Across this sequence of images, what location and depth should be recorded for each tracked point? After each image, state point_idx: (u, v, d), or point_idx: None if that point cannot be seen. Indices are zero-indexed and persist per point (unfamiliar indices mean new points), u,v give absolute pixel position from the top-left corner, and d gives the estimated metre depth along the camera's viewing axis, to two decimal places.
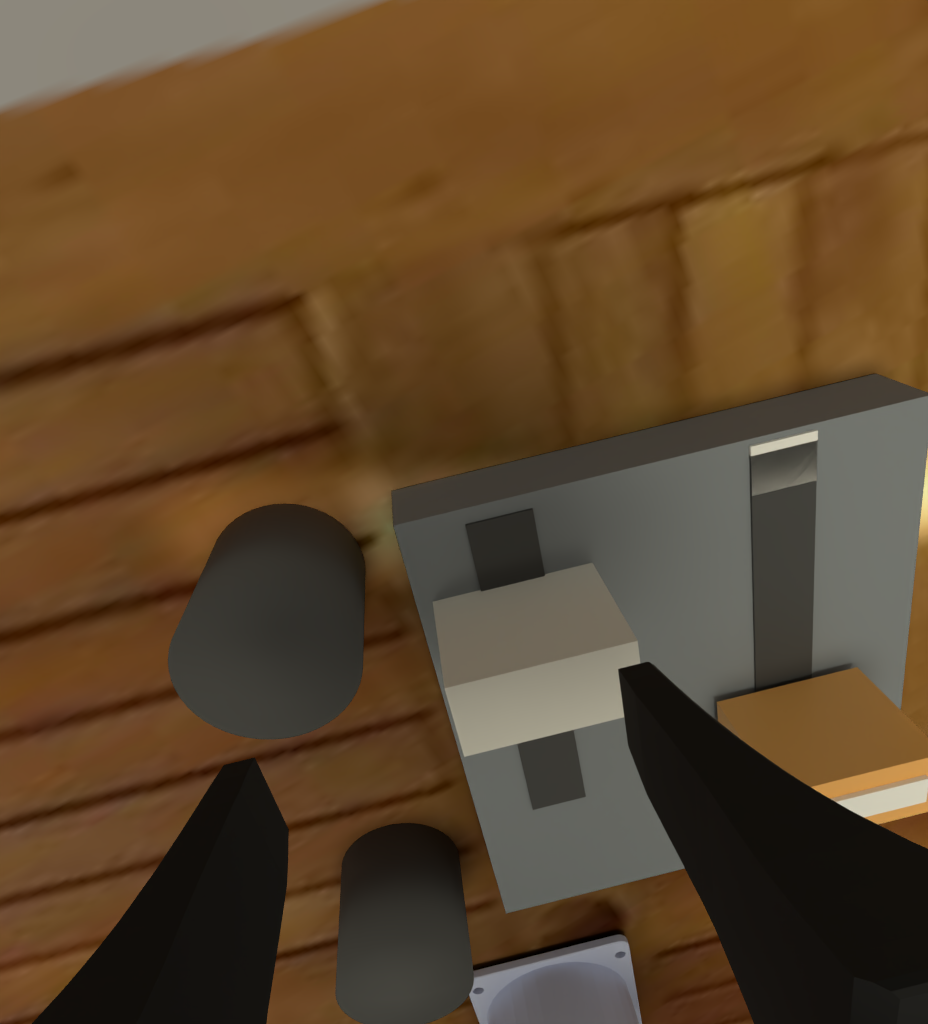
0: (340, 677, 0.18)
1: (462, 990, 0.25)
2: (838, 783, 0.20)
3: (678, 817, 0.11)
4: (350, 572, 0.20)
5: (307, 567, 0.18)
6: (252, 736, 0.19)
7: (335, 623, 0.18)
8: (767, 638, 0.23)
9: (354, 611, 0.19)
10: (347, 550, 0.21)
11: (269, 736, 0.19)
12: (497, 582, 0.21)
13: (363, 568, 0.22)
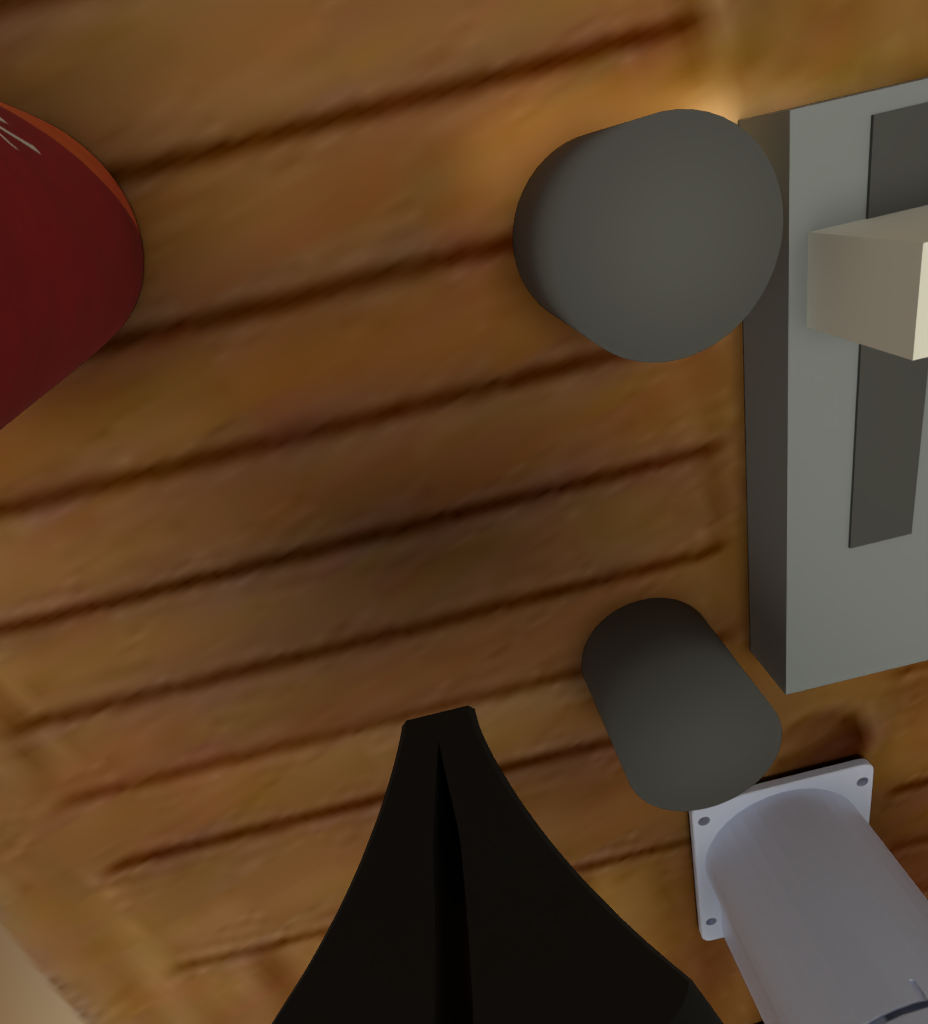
0: (748, 270, 0.15)
1: (764, 761, 0.22)
2: None
3: None
4: None
5: None
6: (624, 357, 0.15)
7: (764, 181, 0.14)
8: None
9: None
10: None
11: (645, 357, 0.15)
12: (886, 209, 0.17)
13: None
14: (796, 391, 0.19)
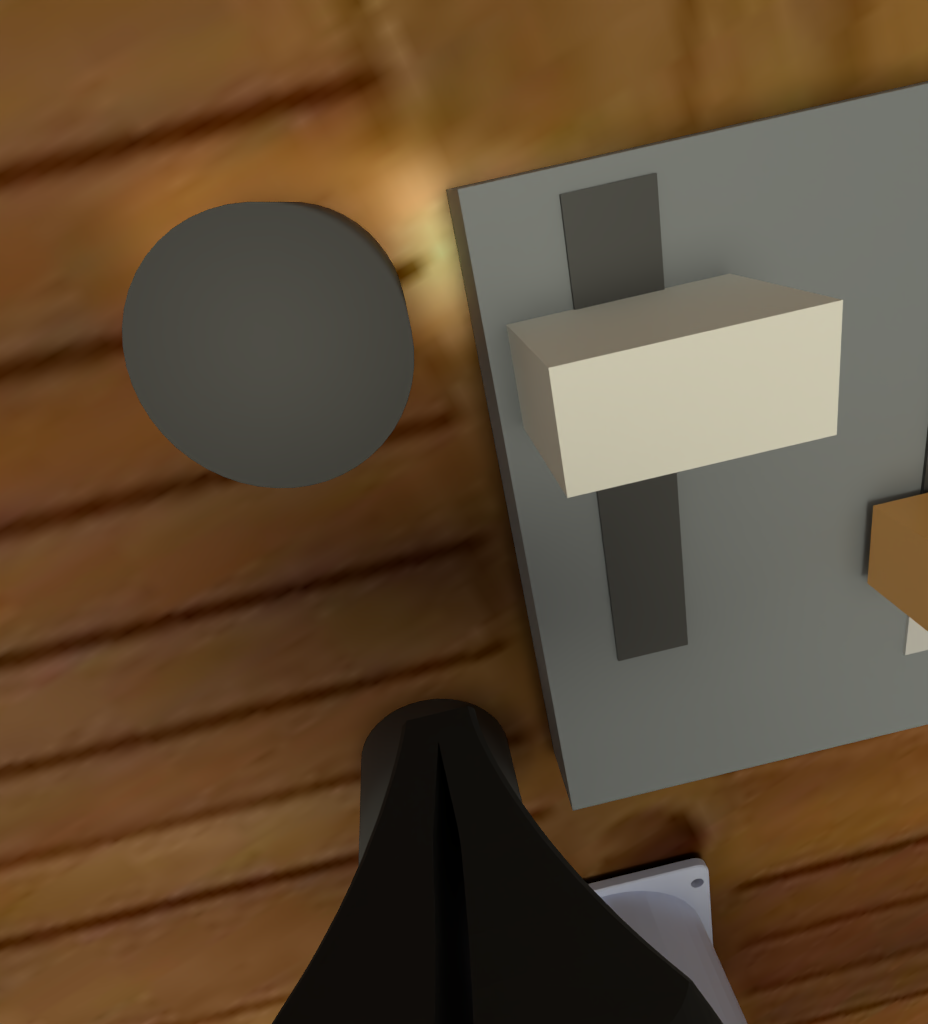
0: (379, 387, 0.12)
1: None
2: None
3: None
4: (393, 272, 0.14)
5: (337, 221, 0.12)
6: (244, 482, 0.13)
7: (378, 286, 0.12)
8: None
9: (402, 298, 0.13)
10: (387, 260, 0.15)
11: (269, 482, 0.13)
12: (597, 299, 0.15)
13: None
14: (525, 497, 0.17)
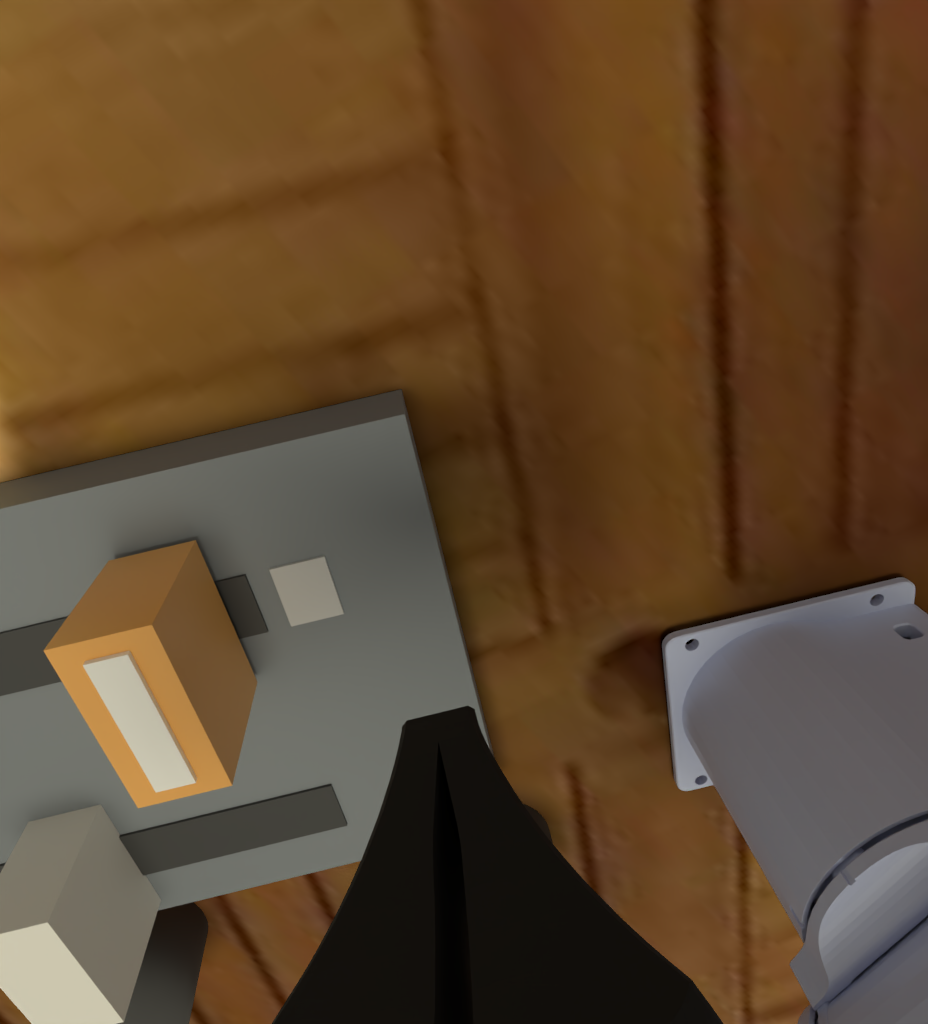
0: None
1: None
2: (112, 754, 0.16)
3: None
4: None
5: None
6: None
7: None
8: None
9: None
10: None
11: None
12: None
13: None
14: (210, 892, 0.25)
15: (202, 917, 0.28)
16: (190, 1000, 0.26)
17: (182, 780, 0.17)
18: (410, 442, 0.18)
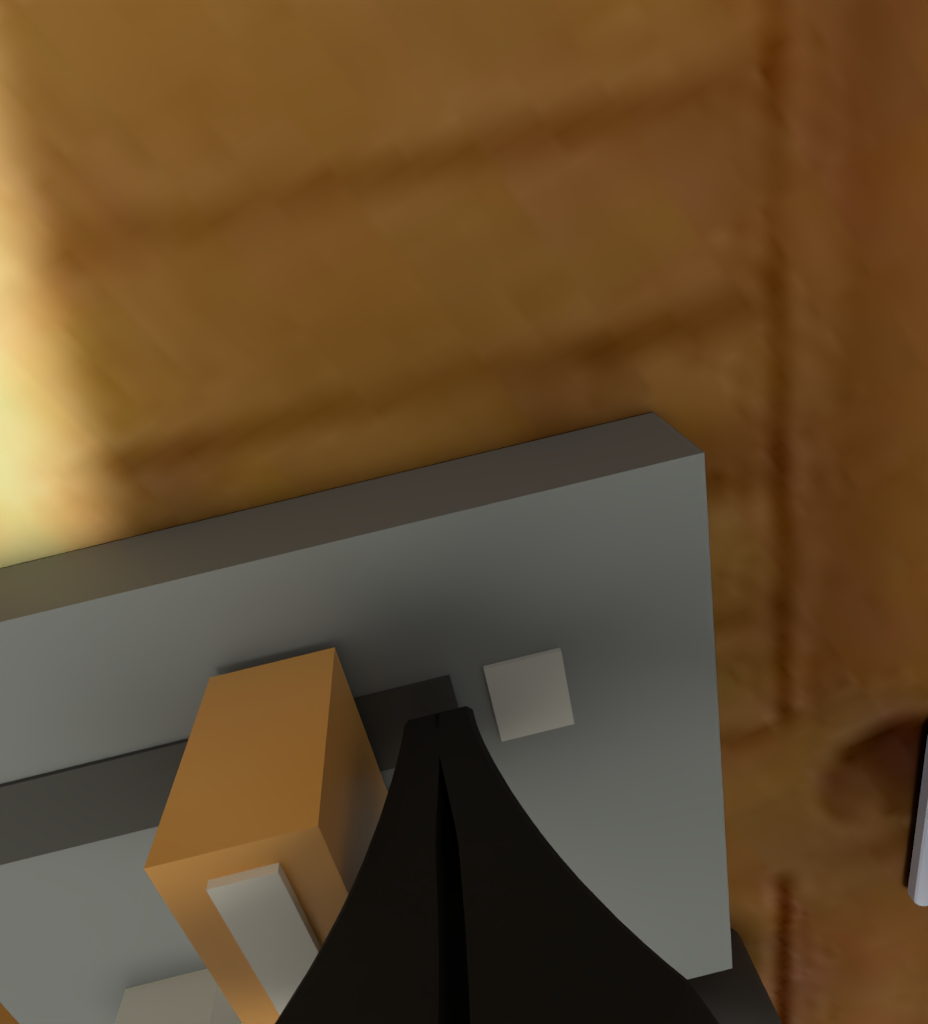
0: None
1: None
2: (238, 999, 0.11)
3: None
4: None
5: None
6: None
7: None
8: None
9: None
10: None
11: None
12: None
13: None
14: None
15: None
16: None
17: None
18: (704, 492, 0.13)
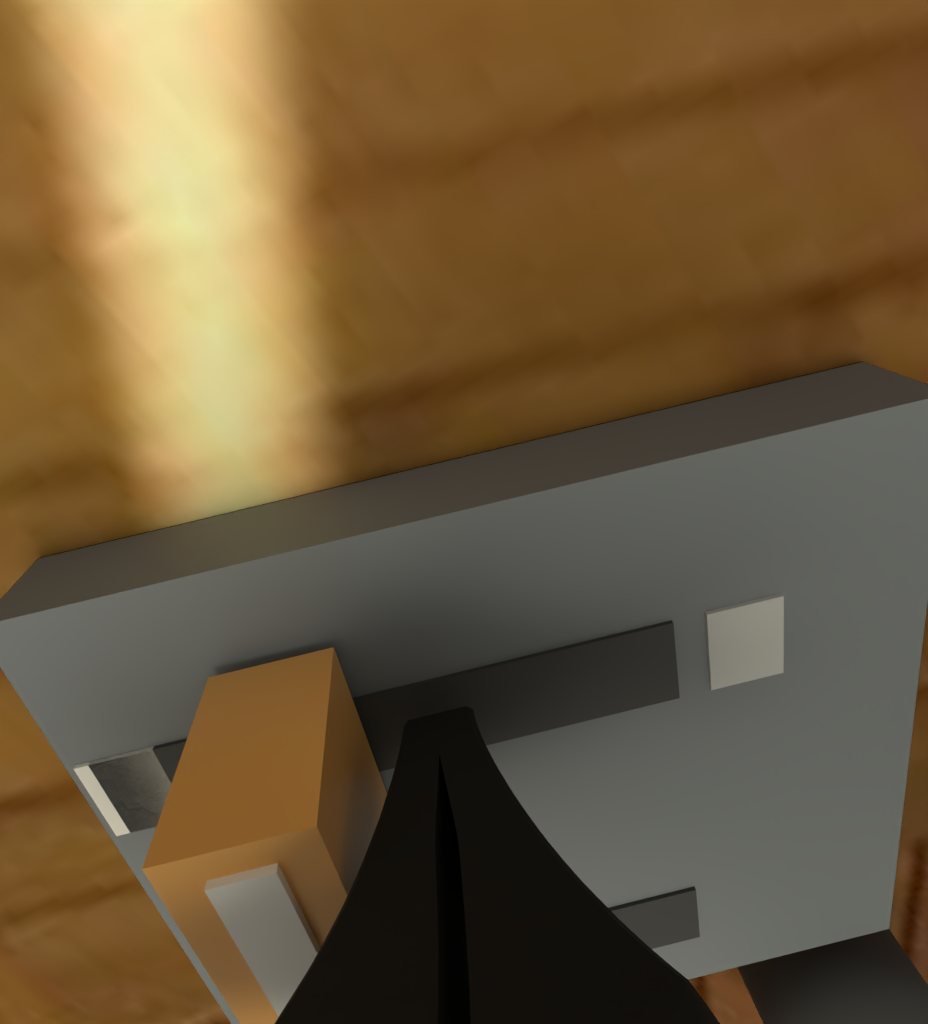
0: None
1: None
2: (236, 1000, 0.10)
3: None
4: None
5: None
6: None
7: None
8: None
9: None
10: None
11: None
12: None
13: None
14: None
15: None
16: None
17: None
18: None
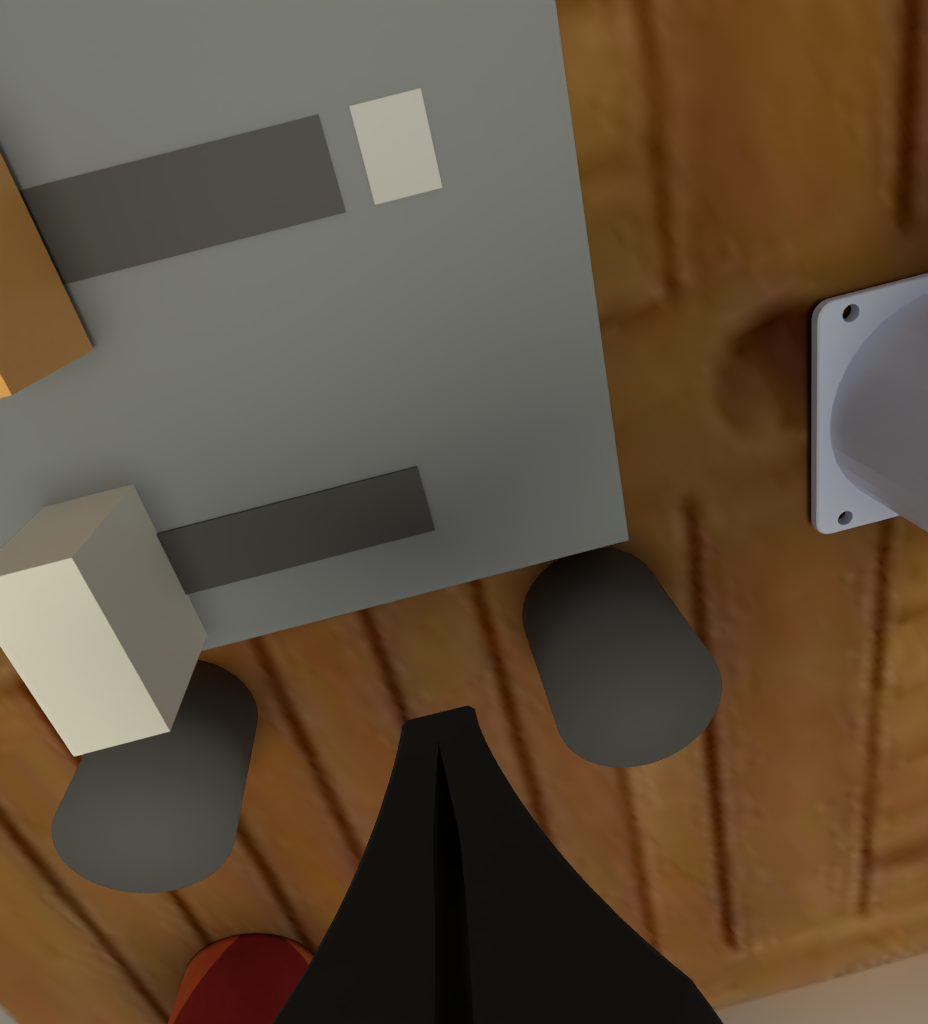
0: (166, 788, 0.19)
1: (667, 643, 0.19)
2: None
3: None
4: None
5: (78, 768, 0.20)
6: (230, 852, 0.21)
7: (99, 786, 0.19)
8: (116, 249, 0.15)
9: (122, 748, 0.20)
10: None
11: (230, 843, 0.20)
12: None
13: None
14: (267, 626, 0.20)
15: (254, 707, 0.24)
16: (244, 783, 0.22)
17: None
18: None
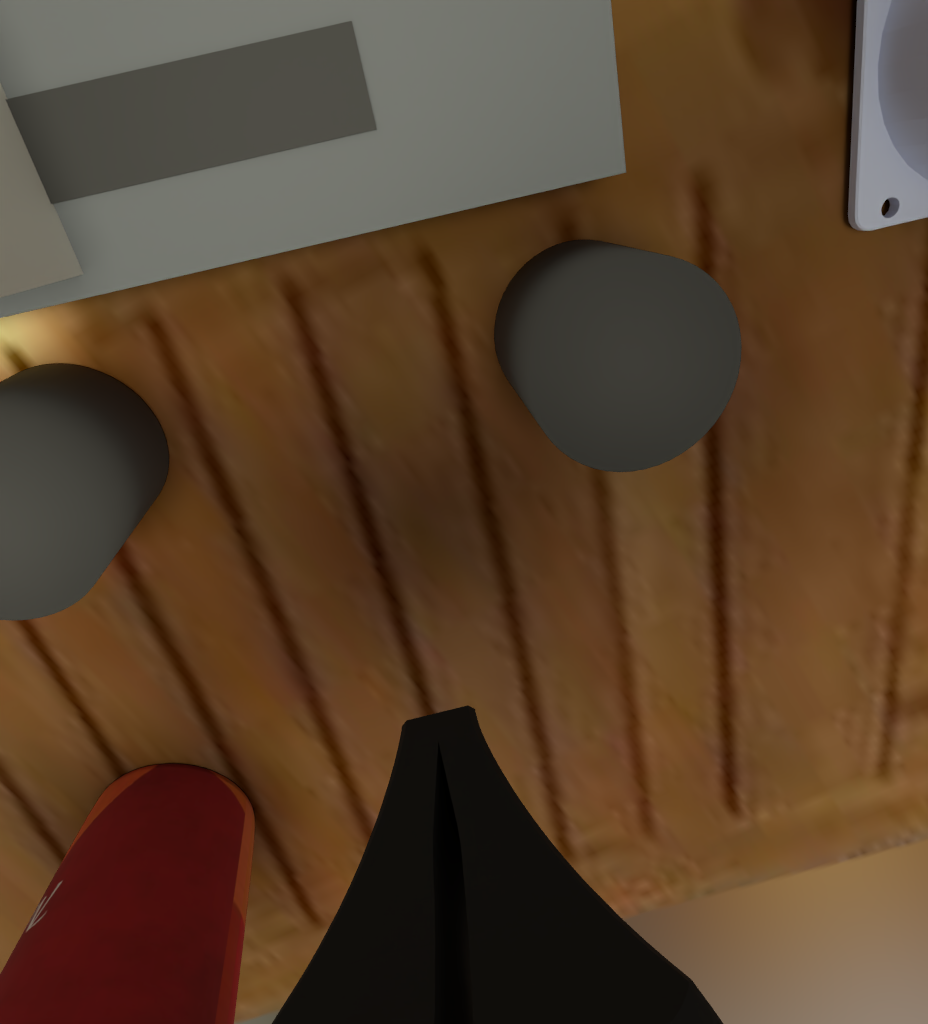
0: (14, 458, 0.15)
1: (673, 274, 0.15)
2: None
3: None
4: None
5: None
6: (100, 573, 0.16)
7: None
8: None
9: None
10: None
11: (100, 557, 0.16)
12: None
13: (57, 370, 0.18)
14: (162, 267, 0.16)
15: (164, 445, 0.20)
16: (133, 506, 0.17)
17: None
18: None
